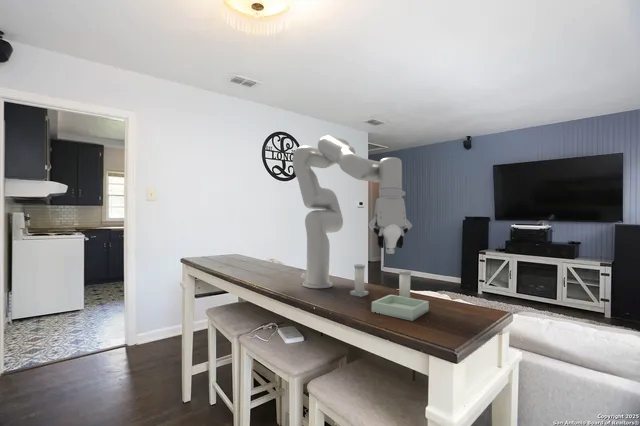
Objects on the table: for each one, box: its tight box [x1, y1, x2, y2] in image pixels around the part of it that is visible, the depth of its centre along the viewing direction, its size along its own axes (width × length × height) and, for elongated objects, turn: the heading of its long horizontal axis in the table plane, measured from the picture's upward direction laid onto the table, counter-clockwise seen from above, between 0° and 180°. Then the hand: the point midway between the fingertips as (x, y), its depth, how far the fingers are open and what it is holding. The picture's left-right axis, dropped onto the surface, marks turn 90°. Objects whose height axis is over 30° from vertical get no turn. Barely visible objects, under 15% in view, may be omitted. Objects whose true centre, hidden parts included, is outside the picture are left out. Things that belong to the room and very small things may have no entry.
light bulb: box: [382, 225, 401, 255], centre depth 108 cm, size 7×7×11 cm
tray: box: [371, 294, 430, 322], centre depth 99 cm, size 13×13×3 cm
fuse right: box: [398, 269, 412, 298], centre depth 109 cm, size 5×5×11 cm
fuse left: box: [349, 263, 369, 297], centre depth 120 cm, size 5×5×11 cm
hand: (390, 247), depth 108 cm, fingers closed on light bulb, 5 cm apart
